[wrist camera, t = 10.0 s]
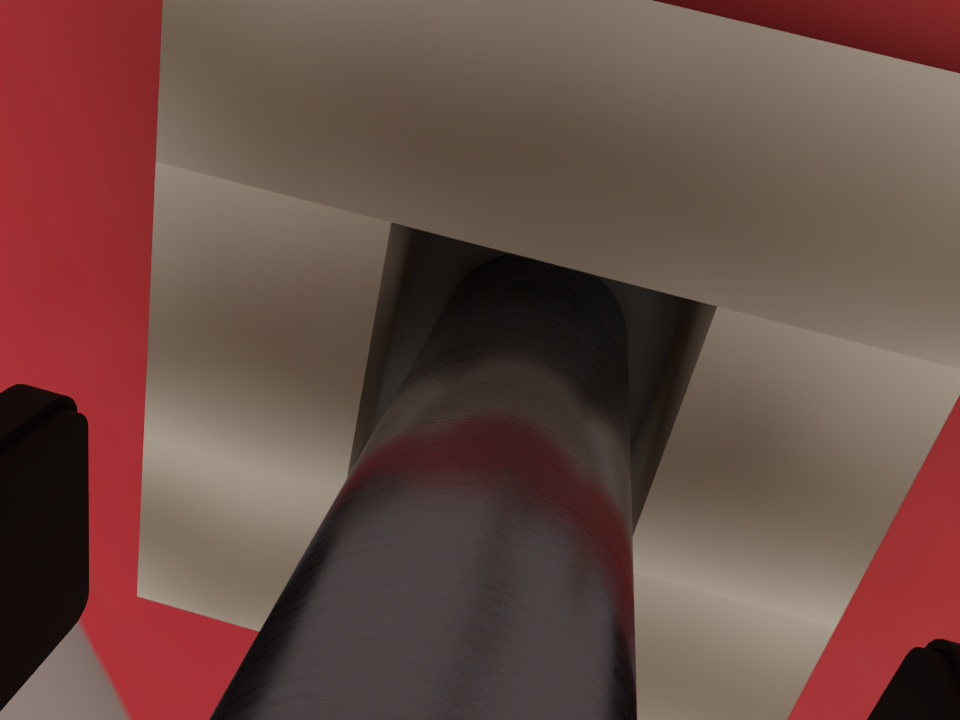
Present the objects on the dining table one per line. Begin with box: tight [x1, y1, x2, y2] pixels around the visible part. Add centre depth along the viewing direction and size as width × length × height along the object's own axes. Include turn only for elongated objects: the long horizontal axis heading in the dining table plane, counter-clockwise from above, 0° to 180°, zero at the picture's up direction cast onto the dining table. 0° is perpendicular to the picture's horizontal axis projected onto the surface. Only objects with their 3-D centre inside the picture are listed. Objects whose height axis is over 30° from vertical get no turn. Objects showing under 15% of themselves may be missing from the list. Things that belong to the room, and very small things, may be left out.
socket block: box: [137, 0, 960, 720], centre depth 17 cm, size 14×14×4 cm
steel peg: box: [209, 254, 637, 720], centre depth 12 cm, size 4×4×12 cm
